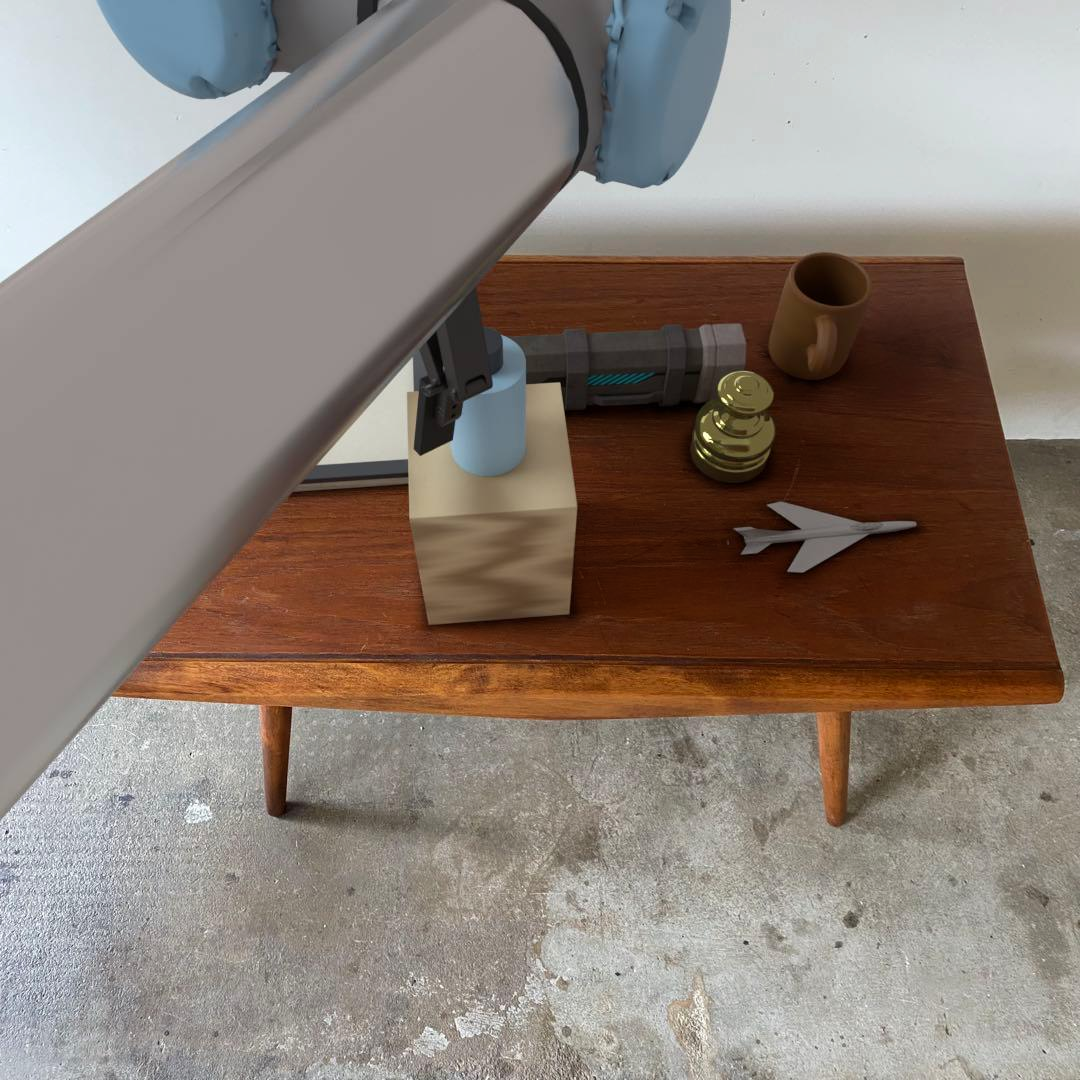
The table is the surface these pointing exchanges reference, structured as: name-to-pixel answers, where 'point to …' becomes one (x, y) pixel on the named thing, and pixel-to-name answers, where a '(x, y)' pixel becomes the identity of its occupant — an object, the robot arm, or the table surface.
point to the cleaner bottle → (494, 414)
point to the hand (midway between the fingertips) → (375, 381)
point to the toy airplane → (815, 534)
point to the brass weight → (735, 429)
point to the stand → (496, 523)
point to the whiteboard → (372, 441)
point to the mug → (819, 315)
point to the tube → (635, 364)
